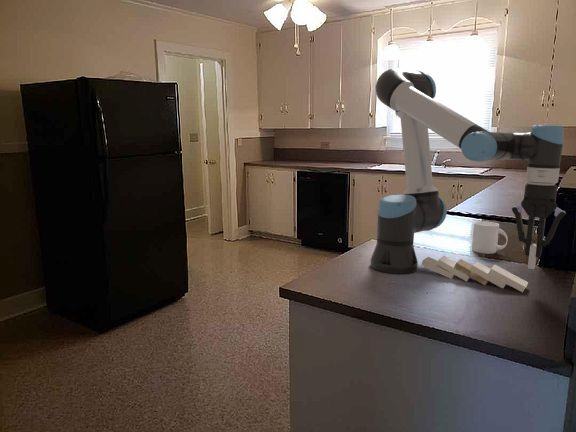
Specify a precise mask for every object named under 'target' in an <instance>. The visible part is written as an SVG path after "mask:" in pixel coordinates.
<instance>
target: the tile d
mask: <svg viewBox="0 0 576 432" xmlns="http://www.w3.org/2000/svg"><path fill="white" fill-rule="evenodd" d="M488 274H490V275H492V276H493V277H495V278H497V279H499V280H501V281H502V282H504V283H506V285H508V286H510V287H512V289H513V288H514V289H515V290H517V291H519V292H521V293H524V291H525V289H527V286H528V284H529V282H528V281H527V280H525V279H523V278H521V277H519V276H517V275H515V274H513V273H512V272H509V271H508V270H506V269H504V268H502V267H501V266H499V265H496V264H493V266H492V267H490V271H489V273H488Z"/></svg>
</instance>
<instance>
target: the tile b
mask: <svg viewBox="0 0 576 432" xmlns="http://www.w3.org/2000/svg"><path fill="white" fill-rule="evenodd" d="M437 261H438V262H437V265H438V266H440V267H442V268H444V269H445V270H447V271H449V272H451V273H452V274H454V275H456V276H455V277H458V278H459V279H461V280H463V281H465V282H468V281H469V280H470V279H472V278H471V277H469V276H467V275H466V274H464V273H462V272H460V271H459V270H457V269H455V268H454V266H455V264H456V263H457V261H454V260H452V259H450V258H448V257H447V256H445V255H442V256H441V257H440V258H439V259H438V260H437Z"/></svg>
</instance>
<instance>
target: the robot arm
mask: <svg viewBox="0 0 576 432" xmlns="http://www.w3.org/2000/svg"><path fill="white" fill-rule="evenodd" d="M375 93H376V96H377V99H378V100H379V101H380V102H381V103H382V104H383V105H385V106H386V107H388V108H389V109H391V110H393V111H394V112H395V115H396V116H397V117H398V118H399V119H400V126H401V127H400V128H401V129H400V130H401V138H402V148H403V160H404V161H403V162H404V169H405V181H406V189H405V190H404V191H403V192H402V194H391V195H387V196H384V197H382V198H381V199H380V200H379V202H378V209H377V228H376V229H377V230H376V232H377V233H376V244H375V246H374V249H373V251H372V255H371V257H370V262H369V263H370V265H369V266H370V267H371V268H372V269H373V270H376V271H378V272H381V273H387V274H393V275H394V274H396V275H403V274H404V275H405V274H412V273H414V272H417V270H418V268H419V267H418V265H419V263H418V259H417V255H416V254H417V253H416V251H415V248H414V239H415V234H416V233H420V232H424V231H425V232H427V231H431V230H434V229H436V228H438V227H440V226H441V225H442V224H443V223H444V221H445V220H446V217H447V212H448V211H447V204H446V203H445V201H444V200H443V198H442V197H440V196H439V189H437V187H436V186H435V185H434V181H433V170H432V160H431V149H430V148H431V147H430V136H429V135H430V134H429V130H431V131H432V132H433V133H435V134H437V135H438V136H440V137H442V138H443V139H445V141H447V142H449V143H451V144H453V145H454V146H455V147H457V148H459V149H460V150H461V152H462V154H463V157H465V158H466V159H467V160H469V161H471V162H472V161H473V162H474V161H475V162H479V163H481V162H486V161H488V162H489V161H501V160H504V161H505V160H510V161H511V160H513V161H517V160H518V161H527V168H526V176H525V181H526V182H527V183H526V184H525V185H524V192H523V193H524V194H523V199H522V200H521V202H520V203H519V204H518V205H514V206H513V207H512V208H511V211H512V213H513V214H514V217H515V222H516V229H517V234H518V240H519V242H521V243H524V245H525V248H524V255H525V256H527V257H528V263H527V269H529V270H530V269H531V270H535V268H536V261H537V258H540V257H541V256H542V250H543V246H548V245H550V243H551V242H552V239H553V237H554V235H555V233H556V230H557V228H558V225H559V223H560V221H561V220H562V219H563V218H564V216H565V215H566V214H567V212H566V211H565V210H562V209H561V208H559V207H558V203H557V192H558V186H557V183H559V177H560V171H561V170H560V169H561V161H562V153H563V146H564V144H565V143H564V136H565V135H564V132H565V129H564V127H563V126H562V125H559V124H535V125H533V126H532V127H531V129H530V132H529V131H528V132H512V131H511V132H509V131H508V132H507V131H506V132H505V131H498V132H497V131H493V132H492V131H490V130H488V129H486V128H484V127H482V126H480V125H478V124H477V123H475V122H473V121H472V120H470V119H468V118H467V117H465V116H463V115H462V114H459V112H456V111H454V110H452V109H451V108H449V107H448V106H446V105H444V104H442V103H441V102H439V101H437V100H435V98H436V93H437V86H436V83H435V80H434V79H433V77H432V76H430V75H429V74H427V73H426V72H423V71H421V70H412V69H411V70H410V69H404V68H399V67H398V68H397V67H394V68H389V69H387V70H385V71H384V72H382V73H381V75H379V77H378V79H377V80H376V84H375ZM523 210H524V212H525V213H526V215H527V216H528V221H527V229H526V231H527V232H526V235H525V227H524V222H523V217H522V216H523V215H522V212H523ZM553 212H554V214H553V215H554V219H553V221H552V224H551V226H550V228H549V231H548V233H547V235H546V238H545V239H544V234H545V228H546V219H547V218H548V217H549V216H550V215H551V214H552V213H553ZM536 218H538V227H537V228H538V229H537V238H536V243H533V236H534V228H535V220H536Z"/></svg>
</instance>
